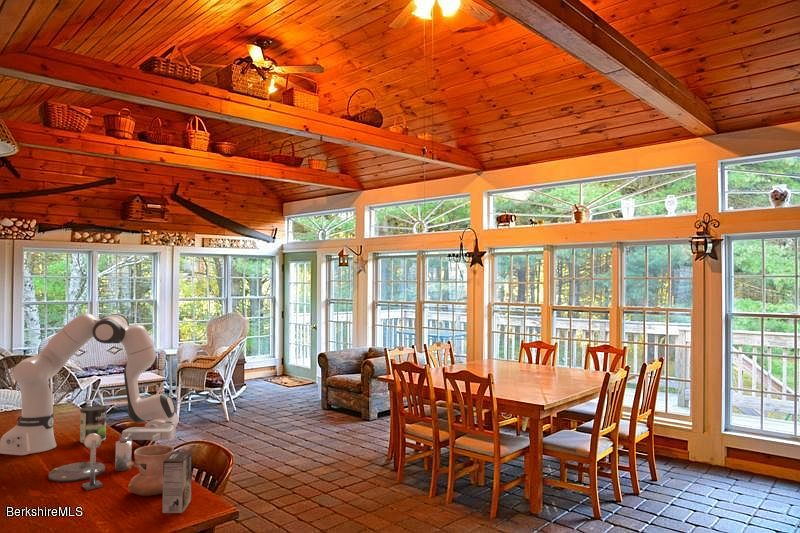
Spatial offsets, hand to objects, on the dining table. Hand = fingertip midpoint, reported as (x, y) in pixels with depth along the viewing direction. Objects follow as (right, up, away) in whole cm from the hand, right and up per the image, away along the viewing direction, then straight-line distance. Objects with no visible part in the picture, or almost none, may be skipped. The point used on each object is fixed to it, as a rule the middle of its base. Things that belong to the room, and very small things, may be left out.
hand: (139, 439), depth 224 cm
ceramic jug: (+21, -7, -35) cm, 41 cm away
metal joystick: (-2, -7, -31) cm, 32 cm away
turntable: (-15, -7, -18) cm, 24 cm away
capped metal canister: (-1, -7, -12) cm, 14 cm away
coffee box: (+34, -7, -48) cm, 59 cm away
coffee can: (-32, -8, +24) cm, 41 cm away
